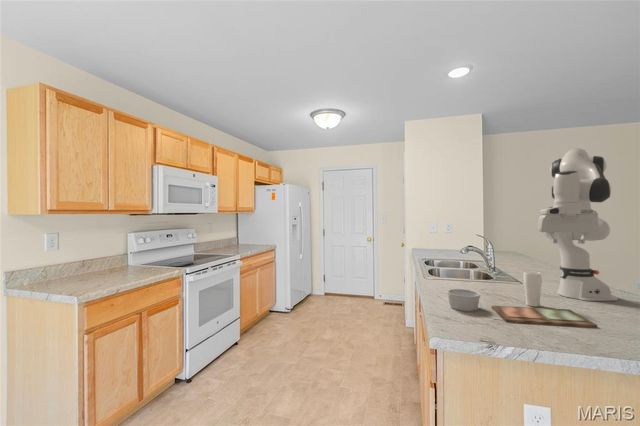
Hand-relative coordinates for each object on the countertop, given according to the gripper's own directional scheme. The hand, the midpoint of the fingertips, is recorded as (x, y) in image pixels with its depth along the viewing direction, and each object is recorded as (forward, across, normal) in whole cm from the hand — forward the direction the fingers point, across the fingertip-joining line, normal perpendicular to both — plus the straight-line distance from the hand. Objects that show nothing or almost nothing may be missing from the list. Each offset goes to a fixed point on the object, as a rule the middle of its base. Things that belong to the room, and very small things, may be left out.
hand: (567, 243), depth 123 cm
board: (+30, +12, +4) cm, 32 cm away
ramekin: (+30, +39, -2) cm, 50 cm away
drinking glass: (+30, +8, -12) cm, 33 cm away
